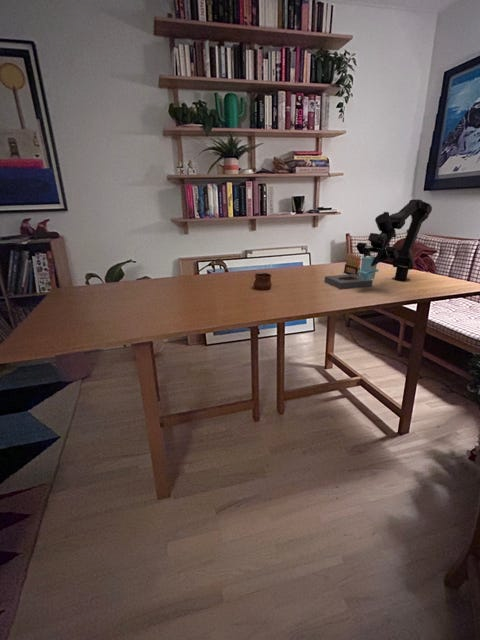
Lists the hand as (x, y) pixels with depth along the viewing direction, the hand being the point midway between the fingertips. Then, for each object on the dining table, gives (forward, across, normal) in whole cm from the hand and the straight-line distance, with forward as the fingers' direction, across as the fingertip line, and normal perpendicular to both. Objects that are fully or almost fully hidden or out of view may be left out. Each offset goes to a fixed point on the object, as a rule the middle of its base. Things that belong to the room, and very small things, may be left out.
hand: (367, 265), depth 144 cm
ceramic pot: (+34, -31, -16) cm, 49 cm away
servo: (+4, 0, +6) cm, 7 cm away
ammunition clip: (-7, -22, +25) cm, 34 cm away
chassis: (+6, -11, +11) cm, 17 cm away
